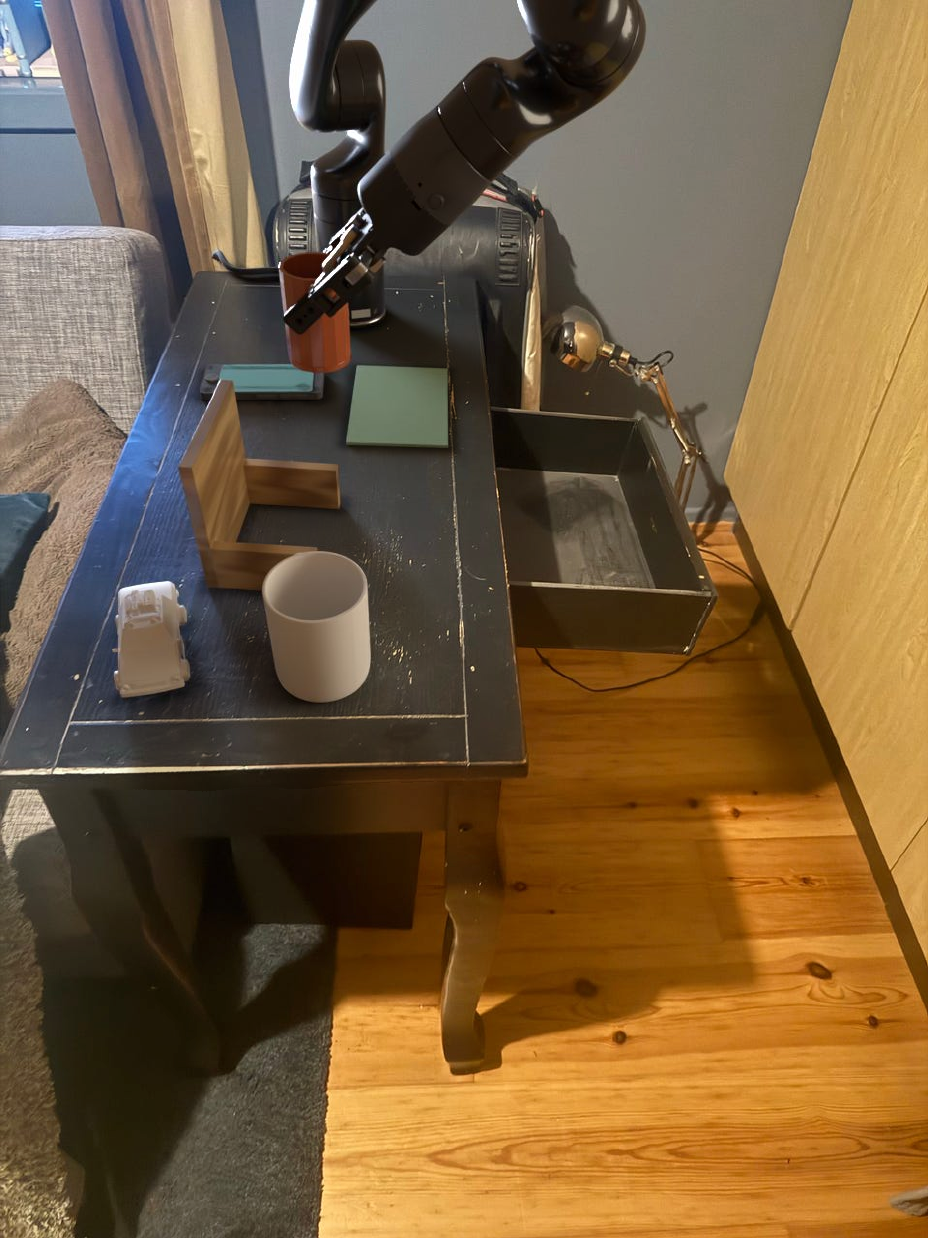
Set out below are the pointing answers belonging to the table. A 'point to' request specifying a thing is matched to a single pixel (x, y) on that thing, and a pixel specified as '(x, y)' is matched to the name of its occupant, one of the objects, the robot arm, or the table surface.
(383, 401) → the mat
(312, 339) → the cup
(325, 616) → the mug
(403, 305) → the table surface
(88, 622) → the table surface
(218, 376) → the smartphone
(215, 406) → the cubby
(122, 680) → the toy car
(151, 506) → the table surface
